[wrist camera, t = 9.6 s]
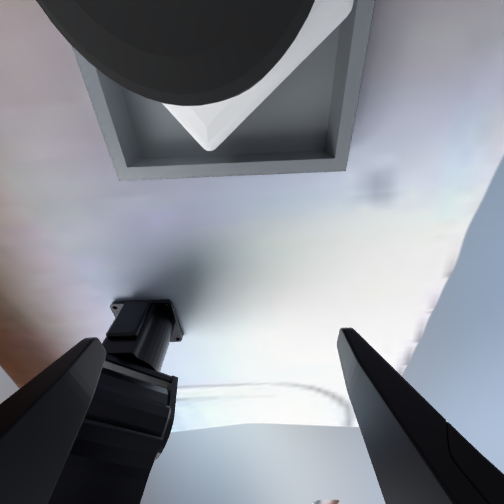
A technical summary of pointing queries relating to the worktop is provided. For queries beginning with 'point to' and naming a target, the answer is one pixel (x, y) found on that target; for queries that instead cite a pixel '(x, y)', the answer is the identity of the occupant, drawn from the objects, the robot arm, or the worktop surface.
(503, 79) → the worktop surface
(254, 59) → the medicine bottle
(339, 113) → the bin
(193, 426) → the worktop surface
